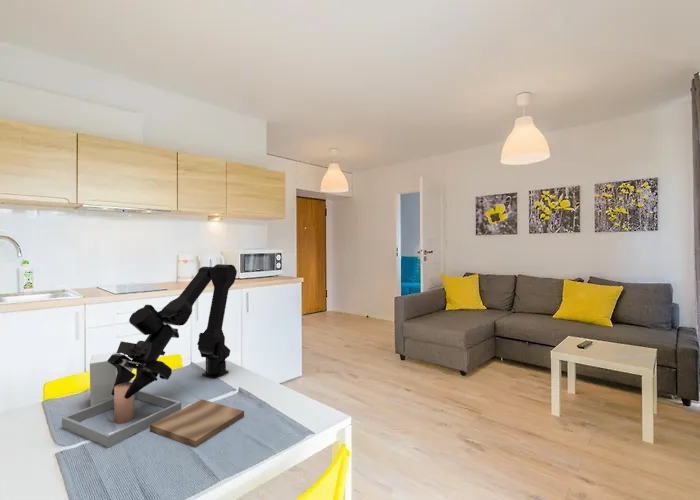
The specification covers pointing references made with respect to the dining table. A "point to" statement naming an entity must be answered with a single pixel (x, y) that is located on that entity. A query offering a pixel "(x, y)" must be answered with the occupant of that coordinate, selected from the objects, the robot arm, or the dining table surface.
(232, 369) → the dining table surface
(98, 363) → the small box
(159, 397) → the tray
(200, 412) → the board
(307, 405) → the dining table surface
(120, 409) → the copper brown cylinder
